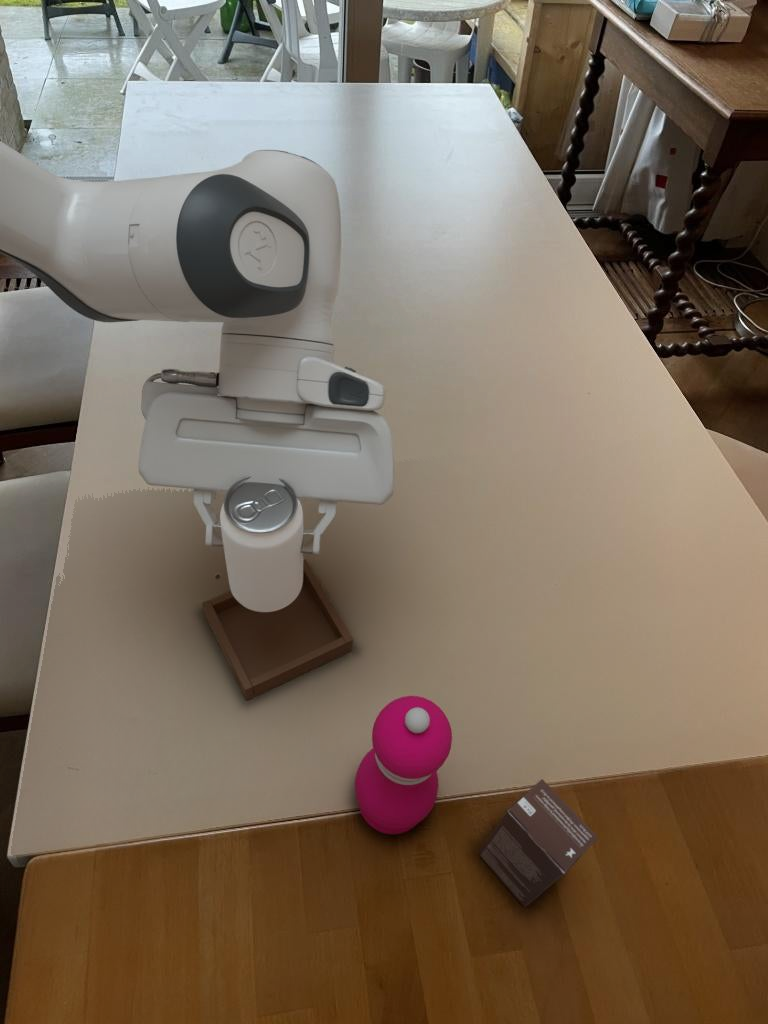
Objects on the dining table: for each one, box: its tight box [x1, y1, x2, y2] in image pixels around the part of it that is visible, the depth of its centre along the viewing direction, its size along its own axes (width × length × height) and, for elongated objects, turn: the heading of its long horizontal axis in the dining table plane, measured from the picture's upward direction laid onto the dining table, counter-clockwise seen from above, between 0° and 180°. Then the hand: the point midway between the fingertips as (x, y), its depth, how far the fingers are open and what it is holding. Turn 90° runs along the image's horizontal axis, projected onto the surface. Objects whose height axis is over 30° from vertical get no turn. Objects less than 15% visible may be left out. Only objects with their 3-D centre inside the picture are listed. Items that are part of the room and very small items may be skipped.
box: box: [477, 778, 598, 908], centre depth 64 cm, size 6×4×12 cm
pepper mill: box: [354, 695, 453, 835], centre depth 63 cm, size 7×7×20 cm
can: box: [219, 476, 304, 612], centre depth 65 cm, size 6×6×12 cm
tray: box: [201, 559, 354, 701], centre depth 79 cm, size 12×11×2 cm
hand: (263, 549), depth 64 cm, fingers closed on can, 6 cm apart
